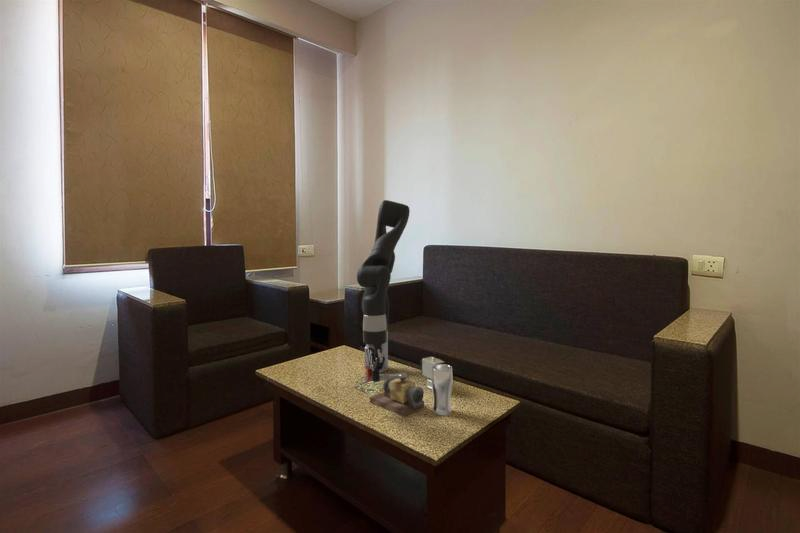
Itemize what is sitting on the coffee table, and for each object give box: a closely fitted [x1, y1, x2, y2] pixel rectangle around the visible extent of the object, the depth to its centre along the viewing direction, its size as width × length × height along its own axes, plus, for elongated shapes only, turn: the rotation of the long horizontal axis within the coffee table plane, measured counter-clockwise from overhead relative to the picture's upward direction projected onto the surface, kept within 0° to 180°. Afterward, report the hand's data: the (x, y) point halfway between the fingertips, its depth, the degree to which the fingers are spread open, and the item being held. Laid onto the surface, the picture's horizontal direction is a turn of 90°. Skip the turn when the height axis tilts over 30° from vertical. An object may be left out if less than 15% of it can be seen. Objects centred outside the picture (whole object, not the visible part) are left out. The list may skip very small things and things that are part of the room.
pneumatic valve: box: [419, 356, 447, 390], centre depth 160 cm, size 6×12×12 cm, turn 34°
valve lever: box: [364, 366, 408, 383], centre depth 142 cm, size 14×3×5 cm, turn 107°
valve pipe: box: [369, 378, 425, 417], centre depth 145 cm, size 17×10×10 cm, turn 47°
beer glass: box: [430, 363, 454, 416], centre depth 140 cm, size 7×7×15 cm
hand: (375, 381), depth 137 cm, fingers closed
